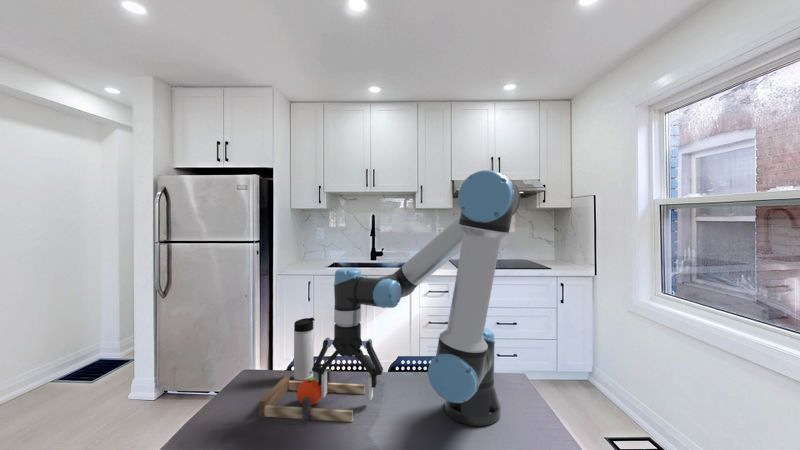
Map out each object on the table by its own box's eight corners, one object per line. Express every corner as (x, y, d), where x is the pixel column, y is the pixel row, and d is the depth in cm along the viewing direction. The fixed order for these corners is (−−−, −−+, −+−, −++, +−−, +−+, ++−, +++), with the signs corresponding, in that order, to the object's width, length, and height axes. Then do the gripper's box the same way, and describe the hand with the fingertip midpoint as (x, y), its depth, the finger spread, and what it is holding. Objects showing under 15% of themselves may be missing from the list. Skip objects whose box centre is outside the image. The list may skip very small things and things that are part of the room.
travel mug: (316, 380, 115) (316, 320, 115) (296, 385, 111) (296, 322, 112) (311, 373, 120) (311, 315, 120) (292, 377, 117) (292, 318, 117)
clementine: (307, 395, 105) (307, 371, 105) (327, 398, 103) (328, 374, 103) (291, 408, 97) (292, 383, 97) (313, 412, 95) (314, 386, 95)
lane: (365, 389, 108) (365, 370, 108) (350, 425, 89) (350, 402, 89) (287, 385, 111) (287, 366, 111) (255, 419, 92) (255, 397, 92)
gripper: (392, 320, 102) (392, 392, 102) (310, 318, 104) (310, 388, 104) (389, 328, 94) (388, 406, 94) (300, 325, 97) (300, 401, 97)
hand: (347, 397), depth 99 cm, fingers open, 13 cm apart
